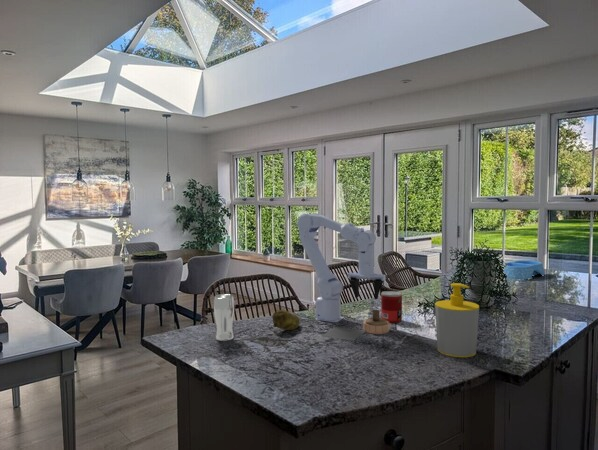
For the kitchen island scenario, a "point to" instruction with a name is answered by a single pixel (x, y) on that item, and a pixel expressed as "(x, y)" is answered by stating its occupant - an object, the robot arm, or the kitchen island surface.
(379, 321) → the lid
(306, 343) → the kitchen island surface
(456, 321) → the soap bottle
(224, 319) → the beer glass
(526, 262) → the dog bowl
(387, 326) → the tan round bowl
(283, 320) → the potato
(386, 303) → the canned food
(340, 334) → the mat
